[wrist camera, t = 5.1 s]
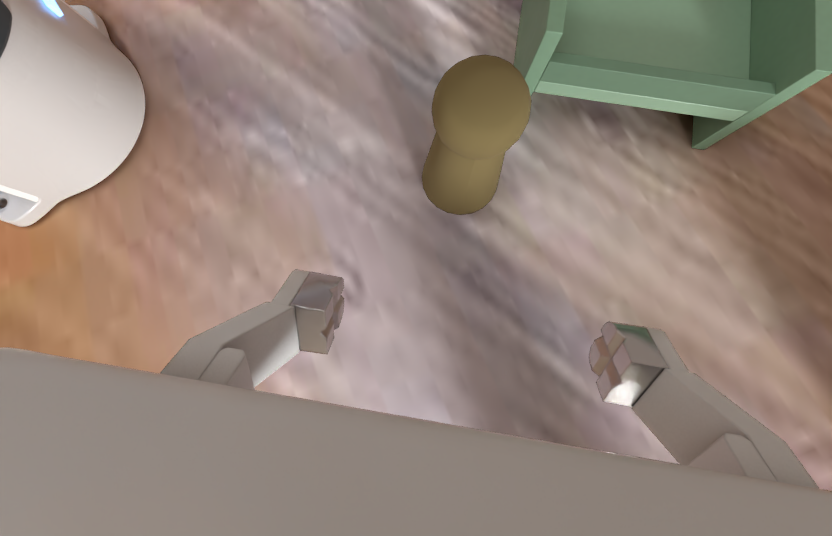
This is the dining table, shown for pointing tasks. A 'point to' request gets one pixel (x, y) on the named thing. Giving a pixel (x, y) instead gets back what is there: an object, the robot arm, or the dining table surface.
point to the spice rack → (677, 55)
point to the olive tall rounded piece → (473, 131)
